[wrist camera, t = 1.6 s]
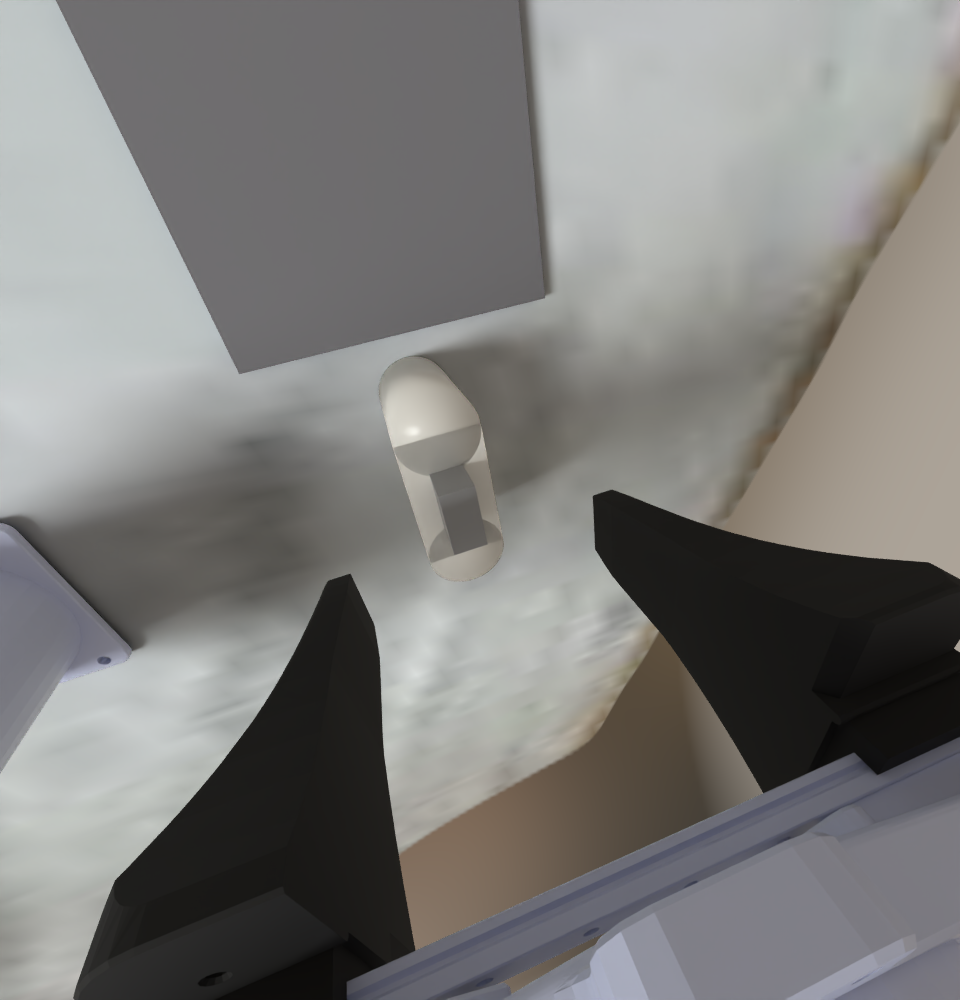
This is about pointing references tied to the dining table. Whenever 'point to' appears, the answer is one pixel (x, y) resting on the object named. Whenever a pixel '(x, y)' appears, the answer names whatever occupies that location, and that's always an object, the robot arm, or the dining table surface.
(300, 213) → the mat
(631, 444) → the dining table surface
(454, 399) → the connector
